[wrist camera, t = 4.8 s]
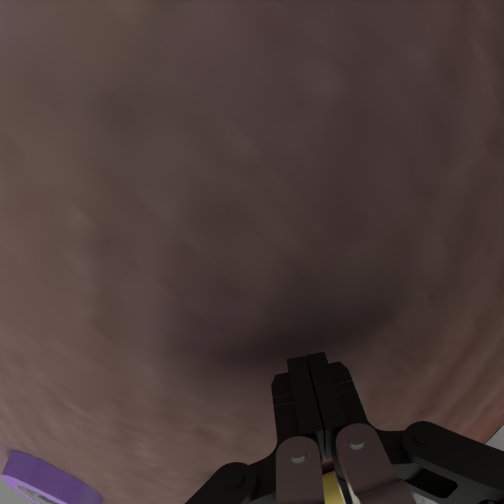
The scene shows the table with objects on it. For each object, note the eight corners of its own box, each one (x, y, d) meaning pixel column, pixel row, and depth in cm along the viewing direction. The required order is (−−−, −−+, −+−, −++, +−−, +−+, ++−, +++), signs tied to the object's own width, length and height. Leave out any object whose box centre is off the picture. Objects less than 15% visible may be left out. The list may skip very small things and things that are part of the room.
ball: (368, 449, 18) (386, 506, 13) (366, 481, 19) (378, 530, 14) (295, 465, 18) (301, 525, 13) (303, 495, 20) (308, 545, 15)
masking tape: (122, 504, 23) (117, 530, 20) (60, 494, 24) (54, 515, 21) (49, 453, 19) (37, 484, 15) (-4, 444, 20) (-15, 467, 16)
